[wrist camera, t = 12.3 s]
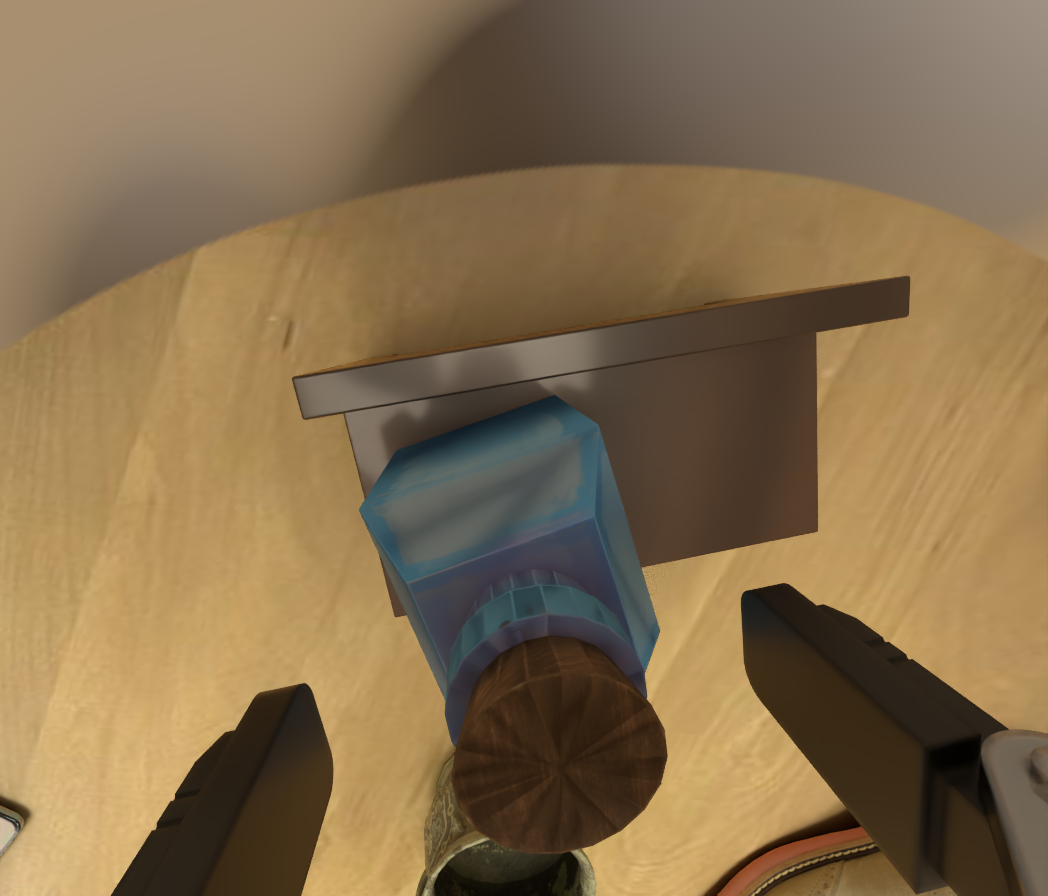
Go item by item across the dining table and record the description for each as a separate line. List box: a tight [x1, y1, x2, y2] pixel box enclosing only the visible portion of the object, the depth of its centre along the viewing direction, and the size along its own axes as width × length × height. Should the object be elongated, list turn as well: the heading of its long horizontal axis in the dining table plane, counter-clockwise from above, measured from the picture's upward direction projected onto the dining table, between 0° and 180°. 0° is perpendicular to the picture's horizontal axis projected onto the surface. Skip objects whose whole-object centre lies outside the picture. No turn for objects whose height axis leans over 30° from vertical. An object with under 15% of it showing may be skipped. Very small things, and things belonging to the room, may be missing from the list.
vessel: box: [416, 754, 597, 896], centre depth 26 cm, size 12×9×6 cm
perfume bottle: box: [359, 395, 668, 854], centre depth 13 cm, size 6×6×12 cm
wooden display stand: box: [292, 276, 910, 617], centre depth 20 cm, size 18×10×10 cm, turn 99°
